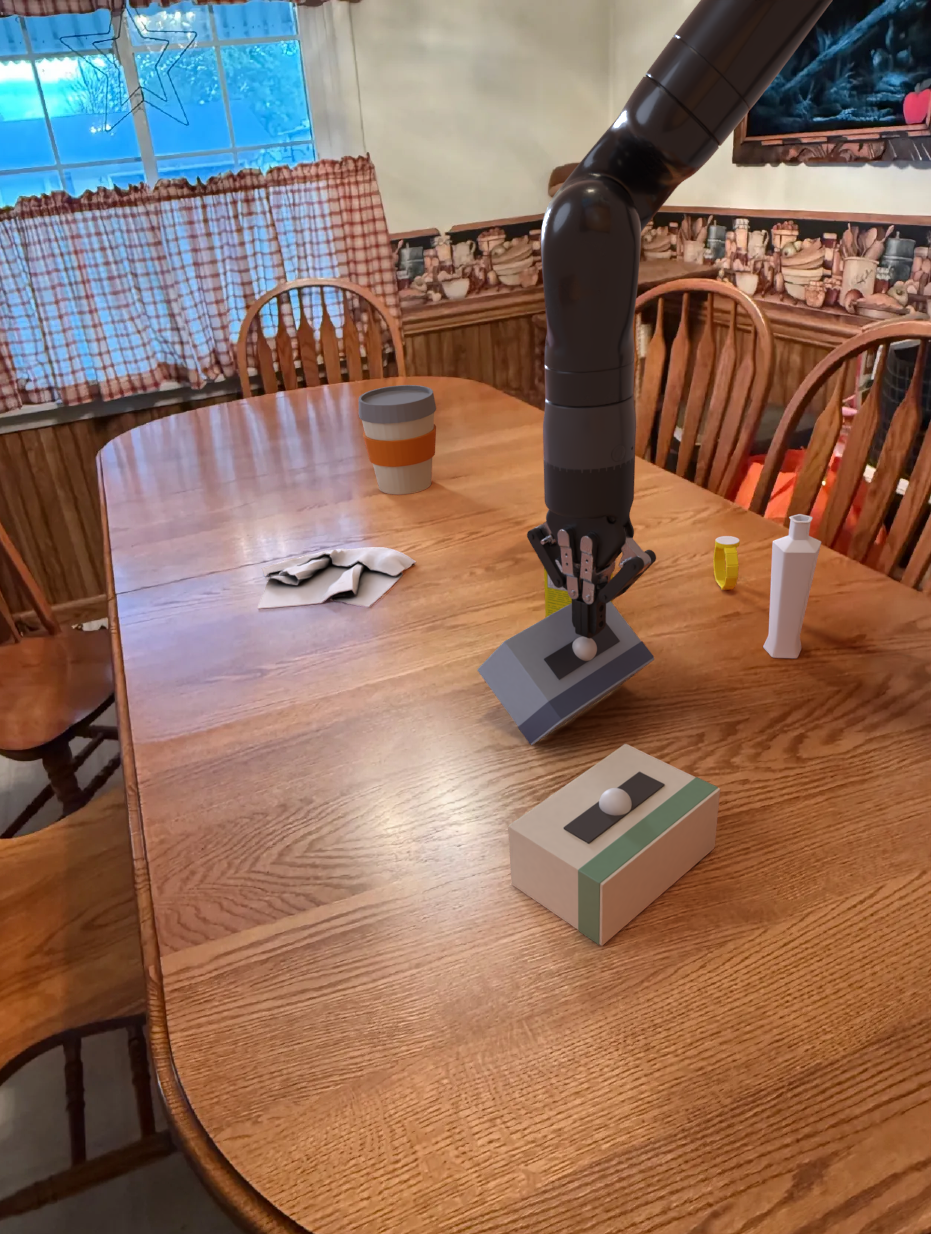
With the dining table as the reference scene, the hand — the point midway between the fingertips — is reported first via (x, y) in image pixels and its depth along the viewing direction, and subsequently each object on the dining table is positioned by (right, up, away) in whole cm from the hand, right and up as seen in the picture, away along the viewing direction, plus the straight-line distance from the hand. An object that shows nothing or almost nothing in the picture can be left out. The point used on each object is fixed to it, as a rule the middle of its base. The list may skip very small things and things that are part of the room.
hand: (588, 633), depth 83 cm
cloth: (-28, +9, +38) cm, 48 cm away
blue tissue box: (+1, -6, +3) cm, 7 cm away
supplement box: (+3, +2, +22) cm, 22 cm away
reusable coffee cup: (-18, +28, +68) cm, 75 cm away
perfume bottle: (+23, -1, +13) cm, 26 cm away
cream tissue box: (+2, -18, -17) cm, 25 cm away
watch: (+21, +7, +27) cm, 35 cm away
